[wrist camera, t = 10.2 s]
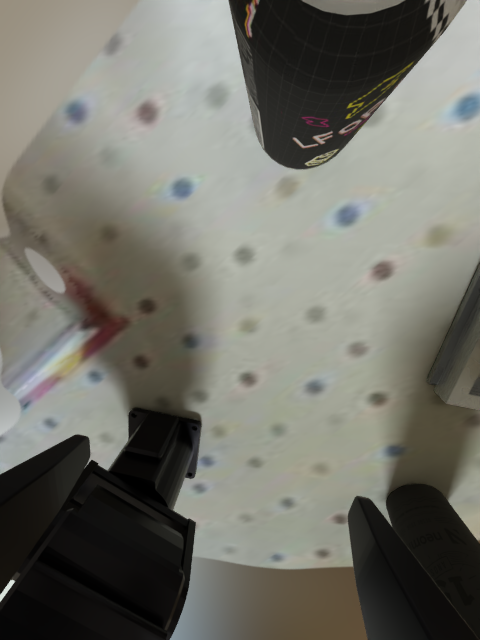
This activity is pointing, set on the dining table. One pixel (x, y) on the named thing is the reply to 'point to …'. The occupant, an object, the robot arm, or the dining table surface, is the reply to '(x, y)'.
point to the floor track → (461, 354)
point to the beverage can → (327, 66)
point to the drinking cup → (440, 545)
